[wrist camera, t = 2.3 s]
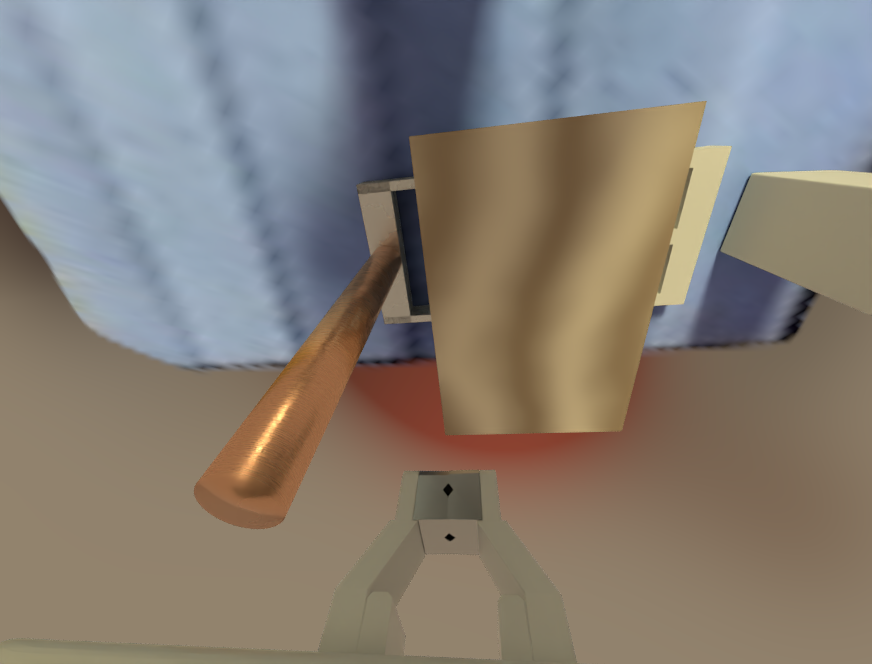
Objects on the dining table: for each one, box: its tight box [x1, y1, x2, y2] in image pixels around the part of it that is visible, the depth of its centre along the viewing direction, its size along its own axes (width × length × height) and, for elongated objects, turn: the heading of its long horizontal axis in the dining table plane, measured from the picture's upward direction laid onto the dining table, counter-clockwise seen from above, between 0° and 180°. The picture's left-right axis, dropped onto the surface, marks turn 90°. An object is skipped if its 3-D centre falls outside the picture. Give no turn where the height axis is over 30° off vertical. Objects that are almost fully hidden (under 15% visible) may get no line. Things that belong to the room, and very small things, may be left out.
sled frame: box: [194, 176, 431, 529], centre depth 22 cm, size 20×14×28 cm
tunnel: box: [409, 101, 707, 435], centre depth 27 cm, size 13×20×16 cm, turn 6°
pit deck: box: [654, 146, 732, 306], centre depth 31 cm, size 10×14×2 cm
